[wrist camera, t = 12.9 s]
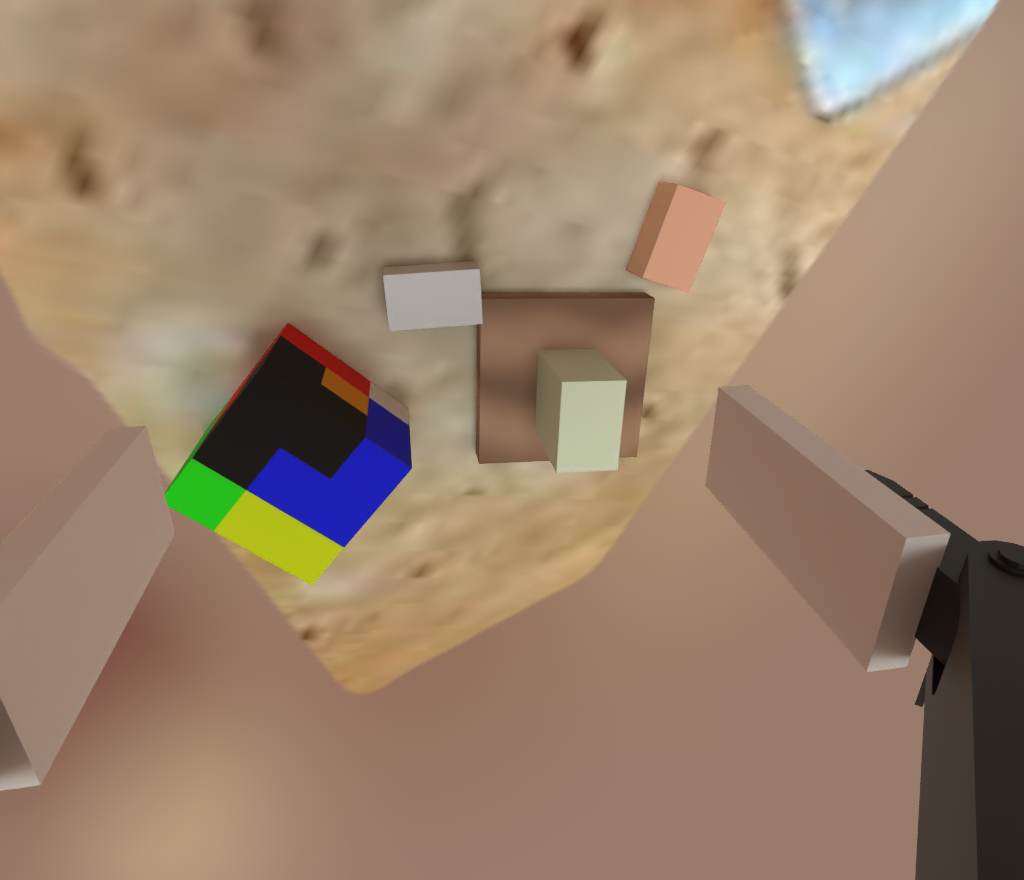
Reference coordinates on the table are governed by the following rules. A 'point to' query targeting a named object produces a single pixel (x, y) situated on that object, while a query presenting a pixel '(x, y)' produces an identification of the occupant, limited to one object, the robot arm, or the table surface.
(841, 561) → the robot arm
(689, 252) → the terracotta brick
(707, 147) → the table surface
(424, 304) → the grey brick
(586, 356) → the sage brick
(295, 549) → the puzzle toy
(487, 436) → the walnut slab
